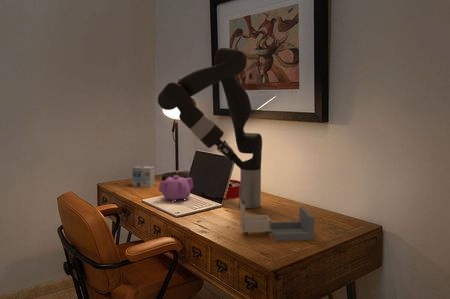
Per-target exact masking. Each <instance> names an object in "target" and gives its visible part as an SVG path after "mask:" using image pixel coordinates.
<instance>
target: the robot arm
mask: <svg viewBox="0 0 450 299" xmlns="http://www.w3.org/2000/svg"><path fill="white" fill-rule="evenodd" d="M213 60H214V65H213V66H209V67H208V66H207V67H203V68H201V69H200V68H199V69H197V70H194V71H192V72H191V73H188V74H187V75H185V76H184V77H182V78H181V79H180V80H179V81H178V82H169V83H167V84H166V85H165V86H164V88H163V89H162V90H161V91H160V92H159V94H158V96H157V104H158V105H159V107H160V108H161V109H163V110H166V111H171V110H174V109H177V110H178V111H179V112H180V113H179V115H178V118H179V120H180V121H181V123H183V124H184V125H185V126H186V127H187V128H188V129H189V130H190V131H191V132H192V133H193V136H195V137H196V138H197V139H198V140H199V141H200V142H201V143H203V144H204V145H205V146H206V147H207V148H208V149H211V148H212V147H213V146H216V150H217V151H218V152H219V153H221V154H222V155H223V156H224V157H225V158H227V159H229V161H230V162H232V163H234V164H235V165H236V166H237V167H238V168H239V169H240V180H239V181H240V185H239V197H238V198H239V199H238V203H239V205H240V207H241V200H240V198H241V197H243V198H244V200H245V202H246V203H245V209H258V208H260V207H261V203H262V202H261V198H262V197H261V196H262V195H261V194H262V189H261V188H262V155H263V154H262V153H263V151H262V150H263V136H262V135H261V133H257V132H245V129H244V128H245V126H246V123H247V122H248V120H249V118H250V117H251V114H252V105H251V101H250V97H249V94H248V93H247V91H246V90H245V88H244V87H243V86H242V85H241V83H240V82H239V80H238V78H237V77H236V76H237V75H240V74H242V73H243V72H244V71H245V69H246V67H247V62H248V61H247V60H248V59H247V55H246V53H244V52H243V51H241V50H238V49H235V48H234V49H233V48H229V47H221V48H218V49H217V50H216V52H215V55H214V59H213ZM219 82H221V83H220V84H221V85H222V89H223V92H224V95H225V99H226V104H227V107H228V112H229V115H230V117H231V121H232V127H233V129H234V130H233V131H234V137H235V142H236V143H235V144H236V148H237V151H239V153H240V154H247V155H248V154H250V155H252V157H251V158H249V159H247V160H242V159H241V158H240V157H238V155H237V153H236V152H235V151H234V149H233V148H232V147H231V146H230V145H229V143H228V142H227V140H225V139H224V140H221V138H222V137H223V136H224V134H225V133H224V131H223V130H222V129H221V128H220V127H219V126H218V125H217V124H216V123H215V122H214V121H213V120H212V119H211V118H210V117H208V116H207V115H206V114H205V113H204V112H203V111H202V110H201V109H200V108H199V107H198V106H197V105H196V104H195V102H194V100H193V99H192V98H191V97H193V96H194V95H197V94H198V93H200V92H202V91H204V90H205V89H207V88H209V87H210V86H213V85H215V84H217V83H219Z"/></svg>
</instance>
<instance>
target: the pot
mask: <svg viewBox="0 0 450 299" xmlns="http://www.w3.org/2000/svg"><path fill="white" fill-rule="evenodd" d="M193 182H194V181H193V178H192V177H187V178H184V177H181V176H179V175H173V177H172V176H167V178H166V179H165V180H162V181H159V184H158V192H161V193H162V195H163V197H164V198H165V199H166V200H168V199H169V200H171V201H175V200H176V201H177V200H182V199H185V198H186V199H187V198H189V197H190V195H191V190H192V189H193V188H194V183H193Z"/></svg>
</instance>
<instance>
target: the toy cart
mask: <svg viewBox="0 0 450 299" xmlns="http://www.w3.org/2000/svg"><path fill="white" fill-rule="evenodd" d="M240 200H241V206H240V228H241V231H242V233H243V235H244V236H246V237H247V236H248V235H249V233H257V232H258V233H259V232H264V235H266V236H269V235H270V231H271V222H272V220H271V218H270V216H269V215H268V214H252V215H250V214H249V215H246V208H245V203H246V202H245V200H244V198H243V197H241V198H240Z"/></svg>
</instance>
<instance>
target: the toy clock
mask: <svg viewBox="0 0 450 299" xmlns="http://www.w3.org/2000/svg"><path fill="white" fill-rule="evenodd" d="M239 185H240V180H237V179H231V180H230V184H229V187H228V191H227V194H226V199H225V200H229V199H228V198H232V199H236V197H237V198H239Z"/></svg>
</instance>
